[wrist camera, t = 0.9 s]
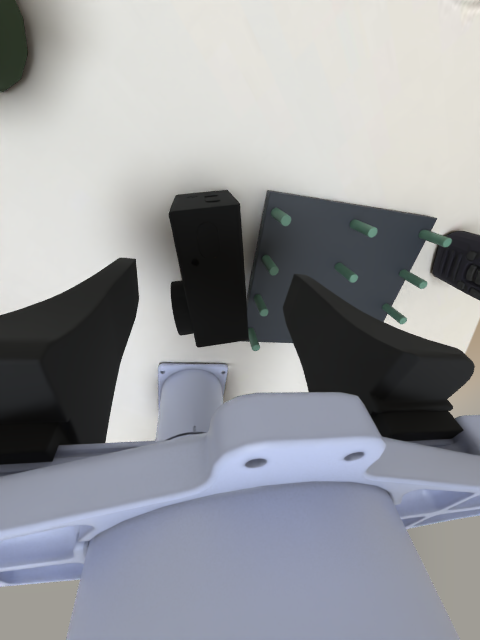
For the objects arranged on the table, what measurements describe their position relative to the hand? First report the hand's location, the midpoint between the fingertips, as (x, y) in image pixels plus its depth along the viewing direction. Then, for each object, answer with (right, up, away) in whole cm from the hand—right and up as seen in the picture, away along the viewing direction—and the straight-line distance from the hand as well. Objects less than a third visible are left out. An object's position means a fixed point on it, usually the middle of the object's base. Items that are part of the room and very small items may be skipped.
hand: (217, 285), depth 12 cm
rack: (+10, +2, +15) cm, 18 cm away
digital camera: (-2, +4, +12) cm, 13 cm away
